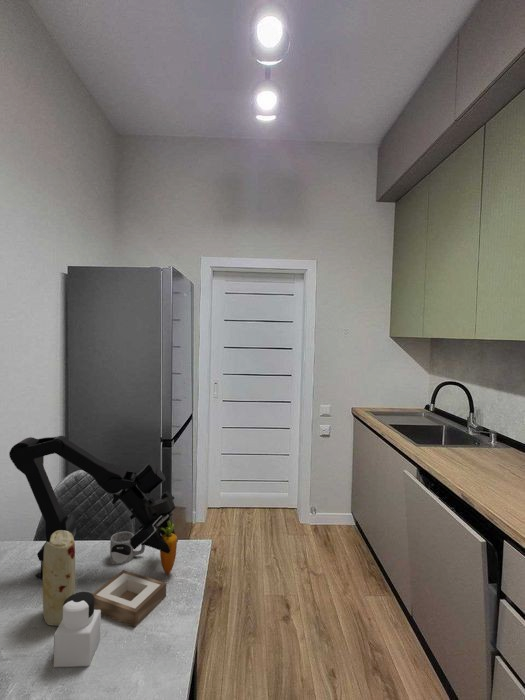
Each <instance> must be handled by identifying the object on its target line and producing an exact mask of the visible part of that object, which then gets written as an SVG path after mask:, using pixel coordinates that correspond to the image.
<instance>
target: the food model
mask: <svg viewBox="0 0 525 700" xmlns="http://www.w3.org/2000/svg"><path fill="white" fill-rule="evenodd" d="M74 537H75V536H74ZM74 537H73V535H72V534H71V533H70V532H69V531H65V530H58V531H55V532H54V533H53V534H52V535H51V538H50V542H46V541H45V542H46V544H45V543H44V544H45V546H44V561H43V579H42V611H43V612H42V613H43V618H44V620H45V623H46V624H47V625H49V626H57V627H59V625H60V623H61V622H62V620H63V603H64V602H65V600H66V599H67V598H68V597H69V596H71V595H73V594H75V593H76V592H75V589H76V547H75V546H76V545H75V543H76V541H75V539H74Z"/></svg>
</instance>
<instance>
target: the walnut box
mask: <svg viewBox="0 0 525 700" xmlns="http://www.w3.org/2000/svg"><path fill="white" fill-rule="evenodd" d="M123 573H125V574H128V575H131V576H135V577H138V578H141V579H144V580H147V581H151V582H154V583H157V584H160V586H159V587H157V588H156V589H155V590H154V591H153V592H152V593H151V594H150V595H149V596H148V597H147V598H146V599H145V600H144V601H143V602H142V603H140V604H139V605H138V606H137V607H136V608H132V607H129V606H126V605H124V604H121V603H118V602H115V601H112V600H109V599H106V598H104V597H101V596H98V595H96V594H98V593H99V592H100V591H101V590H103V589H104V588H105V587H107V586H108V585H109V584H110V583H112V582H113V581H114V580H116V579H117V578H118V577H119V576H121V575H122V574H123ZM91 594H92V595H93V596H94V610H101V616H103V617H106V618H110V619H113V620H115V621H117V622H120V623H123V624H126V625H128V626H131V627H134V628H137V626H138V625H139V624H140V623H141V622H142V621H143V620H144V619H145V618H146V617H147V616H149V614H150V613H151V612H152V611H153V610H154V609H155V608H156V607H157V606H158V605H159V604H160V603H161V602H162V601H163V600H164V599H165V598H166V597H167V582H165V581H164V582H163V581H161V580H158V579H154V578H152V577H148V576H145V575H141V574H138V573H135V572H132V571H129V570H125V569H123V570H121V571H120V572H118V573H117V574H116V575H115V576H114V577H112V578H111V579H110V580H108V581H107V582H105V583H104V584H103V585H102V586H101V587H99V588H98V589H97V590H95V591H94V592H93V593H91ZM137 595H138V594H137V593H134V592H131V591H128V590H127V591H126V592H125V593H123V594H122V595H121V596H120V598H122V599H125V600H128V601H132V600H133V599H134V598H135V597H136V596H137Z"/></svg>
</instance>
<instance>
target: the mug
mask: <svg viewBox="0 0 525 700" xmlns="http://www.w3.org/2000/svg"><path fill="white" fill-rule="evenodd" d="M134 535H135V534H134V533H132V532H131V531H120V532H116V533H114V534H112V535H111V536H110V542H109V543H110V546H109V547H110V548H109V551H110V552H109V562H110V563H111V564H113V565H117V566H118V565H119V566H121V565H125V564H128V563H130V562H132V560H133V559H134V557H136V556H139V555H141V554H143V553H144V552H145V547H146V545H143V546H142V545H141V544H142V543H143V542H142V543H141V544H140V545H141V549H140V550H134V549H133V548H132V546H131V545H130V539H131V538H132V537H133V536H134Z"/></svg>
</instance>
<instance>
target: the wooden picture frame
mask: <svg viewBox="0 0 525 700" xmlns="http://www.w3.org/2000/svg"><path fill="white" fill-rule="evenodd" d="M159 586H160V584H157V583H154V582H151V581H147V580H144V579H141V578H138V577H135V576H131V575H128V574H125V573H123V574H122V575H121V576H119V577H118V578H117V579H116V580H114V581H113V582H112V583H110V584H109V585H108V586H107V587H105V588H104V589H103V590H101V591H100V592H99V593H98V594H96V595H98V596H101V597H104V598H106V599H109V600H112V601H115V602H118V603H121V604H124V605H126V606H129V607H132V608H136V607H137V606H138V605H139V604H140V603H142V602H143V601H144V600H145V599H146V598H147V597H148V596H149V595H150V594H151V593H152V592H153V591H154V590H155V589H156V588H157V587H159ZM127 590H128V591H131V592H134V593H137V594H138V595H137V596H136V597H135V598H134V599H133V600H132V601H128V600H125V599H122V598H120V596H121V595H122V594H123V593H125V592H126V591H127Z"/></svg>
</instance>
